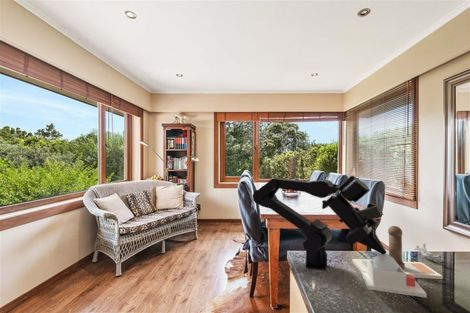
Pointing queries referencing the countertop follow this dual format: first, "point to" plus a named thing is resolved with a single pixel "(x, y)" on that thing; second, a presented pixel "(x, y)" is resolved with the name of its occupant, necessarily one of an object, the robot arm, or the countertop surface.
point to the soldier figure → (429, 254)
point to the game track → (406, 269)
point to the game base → (391, 281)
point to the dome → (385, 263)
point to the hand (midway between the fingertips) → (385, 253)
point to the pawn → (396, 245)
